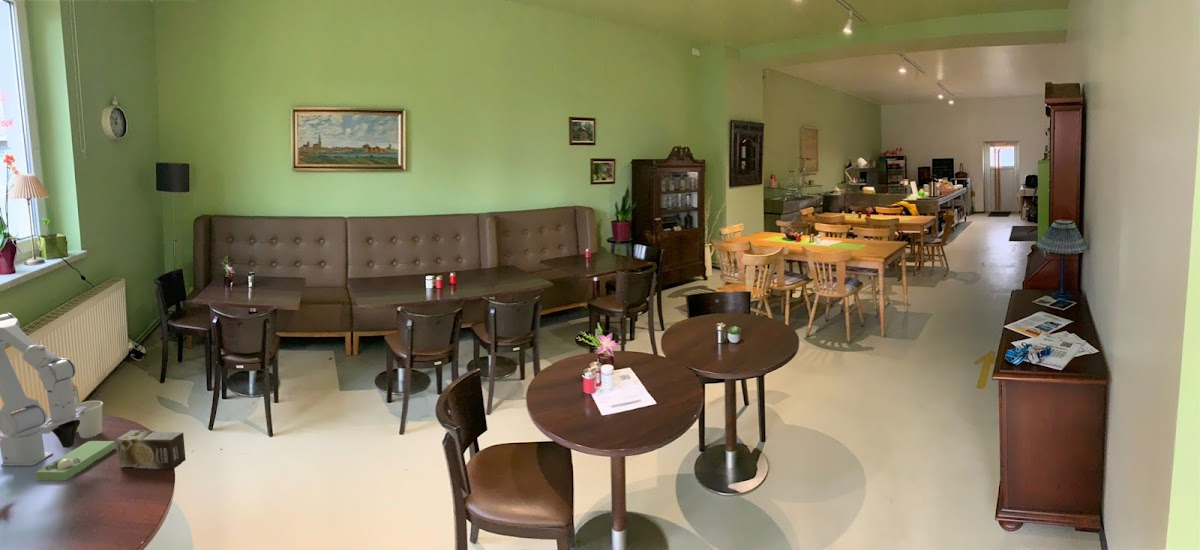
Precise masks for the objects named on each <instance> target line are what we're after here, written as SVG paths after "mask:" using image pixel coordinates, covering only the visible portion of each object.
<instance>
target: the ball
mask: <svg viewBox="0 0 1200 550" xmlns="http://www.w3.org/2000/svg"><path fill="white" fill-rule="evenodd" d="M73 464H75V463H74V461H73V460H71V459H63V460H61V461H60V462H59V463H58V465H57V469H62V468H66V467H69V466H71V465H73Z"/></svg>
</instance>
